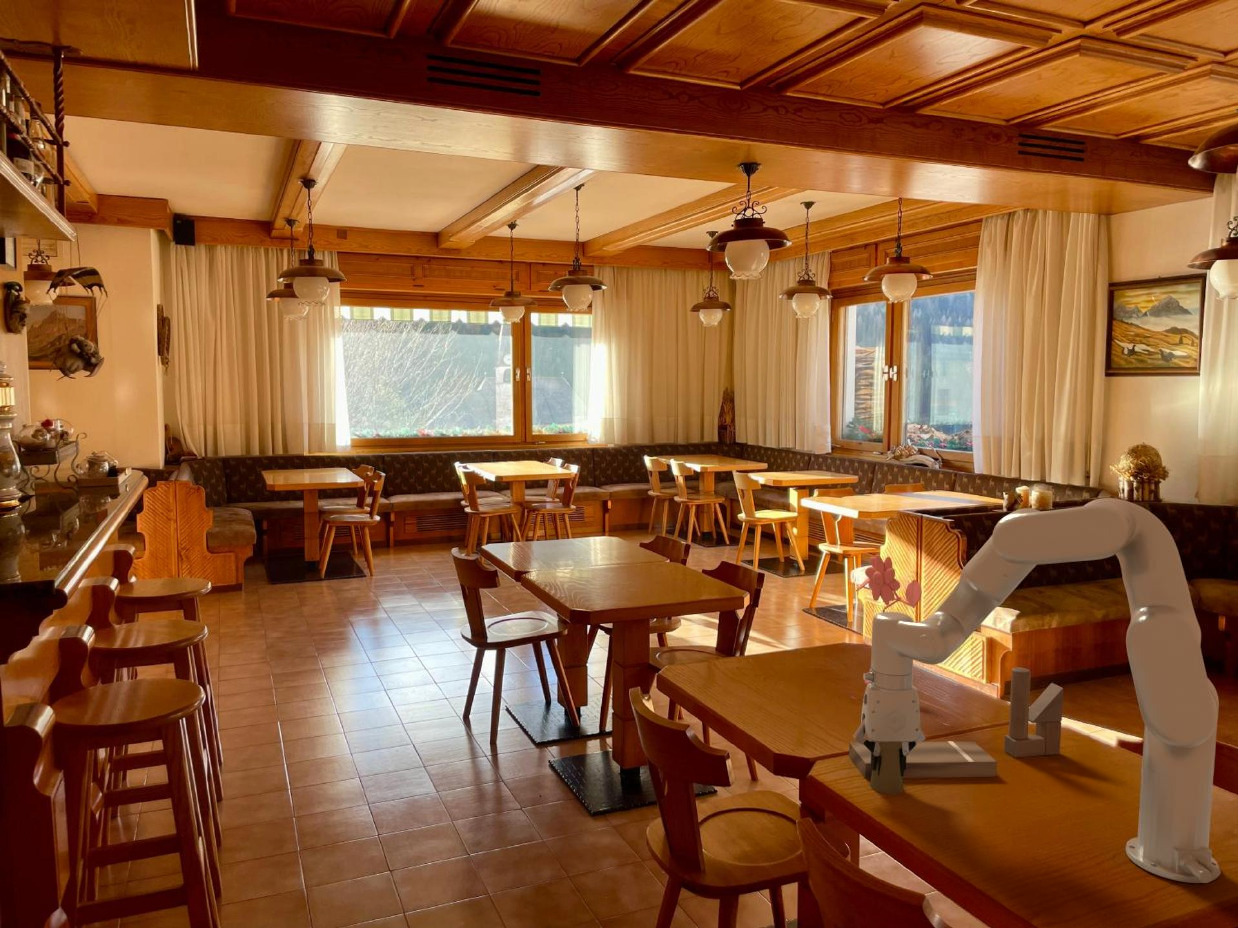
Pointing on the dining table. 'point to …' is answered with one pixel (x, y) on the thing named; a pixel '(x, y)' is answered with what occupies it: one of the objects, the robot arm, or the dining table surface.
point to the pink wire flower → (888, 585)
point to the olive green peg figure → (888, 770)
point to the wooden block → (1033, 718)
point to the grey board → (934, 760)
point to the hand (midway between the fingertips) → (888, 772)
